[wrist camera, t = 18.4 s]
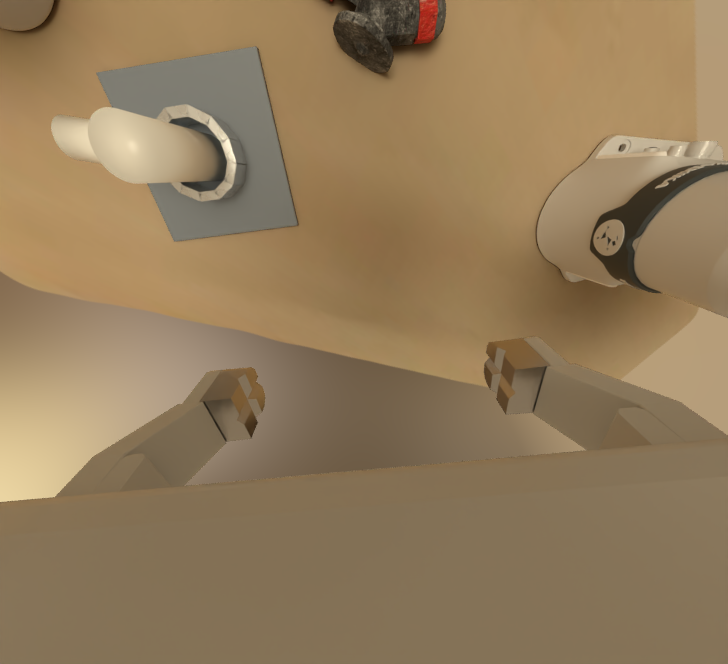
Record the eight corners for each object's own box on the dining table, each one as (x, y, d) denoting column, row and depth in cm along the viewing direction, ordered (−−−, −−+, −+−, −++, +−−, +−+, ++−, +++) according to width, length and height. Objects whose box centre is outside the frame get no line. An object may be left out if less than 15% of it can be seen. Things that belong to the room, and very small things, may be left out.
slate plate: (257, 48, 29) (256, 46, 28) (298, 224, 38) (297, 225, 38) (100, 74, 30) (96, 72, 29) (176, 240, 39) (174, 241, 38)
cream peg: (228, 137, 32) (148, 113, 20) (232, 183, 35) (163, 187, 23) (154, 124, 32) (26, 92, 20) (163, 173, 34) (55, 171, 22)
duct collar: (230, 106, 31) (217, 99, 28) (255, 193, 35) (246, 195, 32) (156, 118, 31) (134, 112, 28) (190, 202, 36) (175, 205, 33)
